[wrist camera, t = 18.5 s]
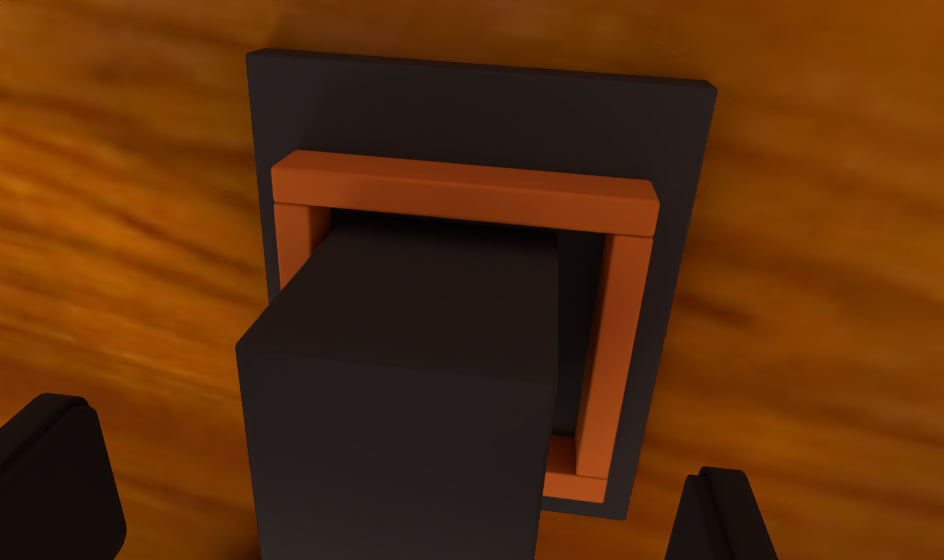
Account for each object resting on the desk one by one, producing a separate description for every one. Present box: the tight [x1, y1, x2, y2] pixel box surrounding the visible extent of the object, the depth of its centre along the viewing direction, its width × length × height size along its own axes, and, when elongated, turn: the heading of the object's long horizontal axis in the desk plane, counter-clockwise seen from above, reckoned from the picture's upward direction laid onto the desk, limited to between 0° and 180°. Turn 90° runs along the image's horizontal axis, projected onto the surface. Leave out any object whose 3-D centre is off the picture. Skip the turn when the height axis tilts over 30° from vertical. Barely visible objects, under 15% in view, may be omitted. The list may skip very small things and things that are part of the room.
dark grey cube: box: [235, 214, 558, 560], centre depth 14 cm, size 5×5×6 cm
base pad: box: [246, 48, 718, 521], centre depth 16 cm, size 12×10×2 cm
